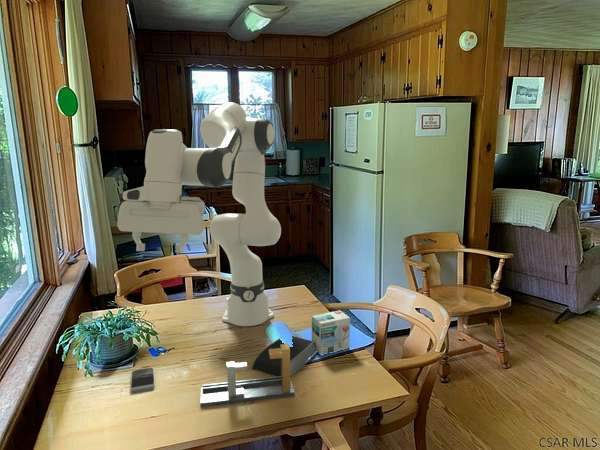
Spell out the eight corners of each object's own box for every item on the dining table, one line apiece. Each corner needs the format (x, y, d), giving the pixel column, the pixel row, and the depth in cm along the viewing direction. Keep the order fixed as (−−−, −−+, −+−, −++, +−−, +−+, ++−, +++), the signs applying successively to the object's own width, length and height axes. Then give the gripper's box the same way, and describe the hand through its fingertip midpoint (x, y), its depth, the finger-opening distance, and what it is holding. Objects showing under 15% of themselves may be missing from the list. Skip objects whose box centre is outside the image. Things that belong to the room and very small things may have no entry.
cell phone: (154, 371, 131) (154, 366, 131) (155, 391, 121) (154, 386, 121) (131, 374, 129) (131, 370, 129) (130, 396, 119) (130, 391, 119)
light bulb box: (320, 356, 138) (320, 323, 135) (310, 347, 144) (310, 315, 141) (350, 349, 142) (351, 317, 140) (340, 340, 148) (340, 309, 146)
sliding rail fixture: (201, 391, 120) (198, 346, 117) (290, 381, 124) (289, 337, 121) (200, 407, 113) (197, 359, 110) (294, 396, 117) (294, 349, 115)
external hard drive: (320, 352, 141) (320, 340, 140) (287, 382, 125) (287, 368, 124) (285, 342, 148) (285, 331, 147) (249, 369, 132) (249, 356, 131)
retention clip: (228, 392, 117) (226, 362, 115) (247, 390, 118) (246, 360, 116) (228, 397, 115) (227, 367, 113) (248, 395, 116) (247, 364, 114)
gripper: (208, 198, 112) (205, 253, 112) (126, 193, 113) (124, 249, 113) (202, 196, 106) (199, 255, 106) (115, 192, 106) (113, 250, 107)
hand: (159, 252), depth 109 cm, fingers open, 8 cm apart
